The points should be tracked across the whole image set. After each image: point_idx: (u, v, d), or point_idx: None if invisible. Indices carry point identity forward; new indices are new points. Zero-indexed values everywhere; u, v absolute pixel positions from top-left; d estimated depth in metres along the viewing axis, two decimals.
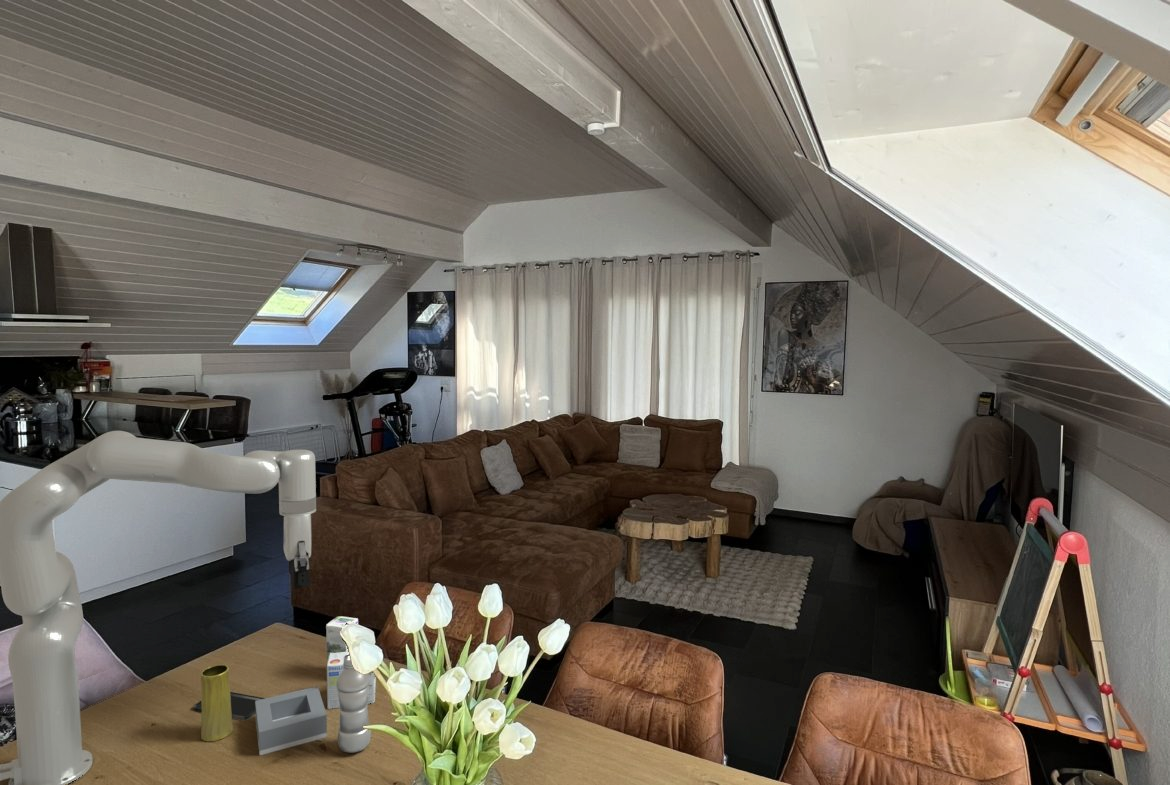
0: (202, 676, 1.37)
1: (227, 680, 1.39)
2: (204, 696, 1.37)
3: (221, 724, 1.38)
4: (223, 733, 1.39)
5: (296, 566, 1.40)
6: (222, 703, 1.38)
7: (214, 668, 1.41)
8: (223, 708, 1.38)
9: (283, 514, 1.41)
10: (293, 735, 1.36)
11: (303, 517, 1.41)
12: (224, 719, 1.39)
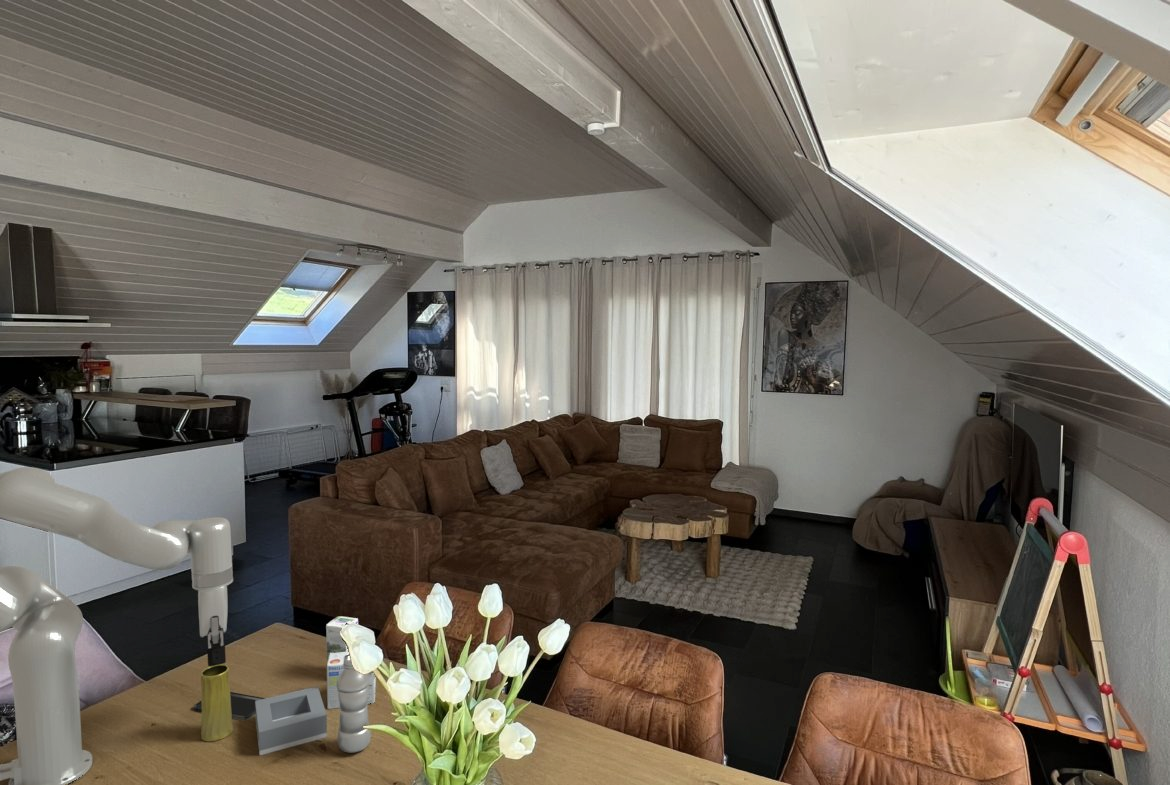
0: (202, 676, 1.37)
1: (227, 680, 1.39)
2: (204, 696, 1.37)
3: (221, 724, 1.38)
4: (223, 733, 1.39)
5: (209, 643, 1.33)
6: (222, 703, 1.38)
7: (214, 668, 1.41)
8: (223, 708, 1.38)
9: (195, 588, 1.34)
10: (293, 735, 1.36)
11: (216, 591, 1.34)
12: (224, 719, 1.39)
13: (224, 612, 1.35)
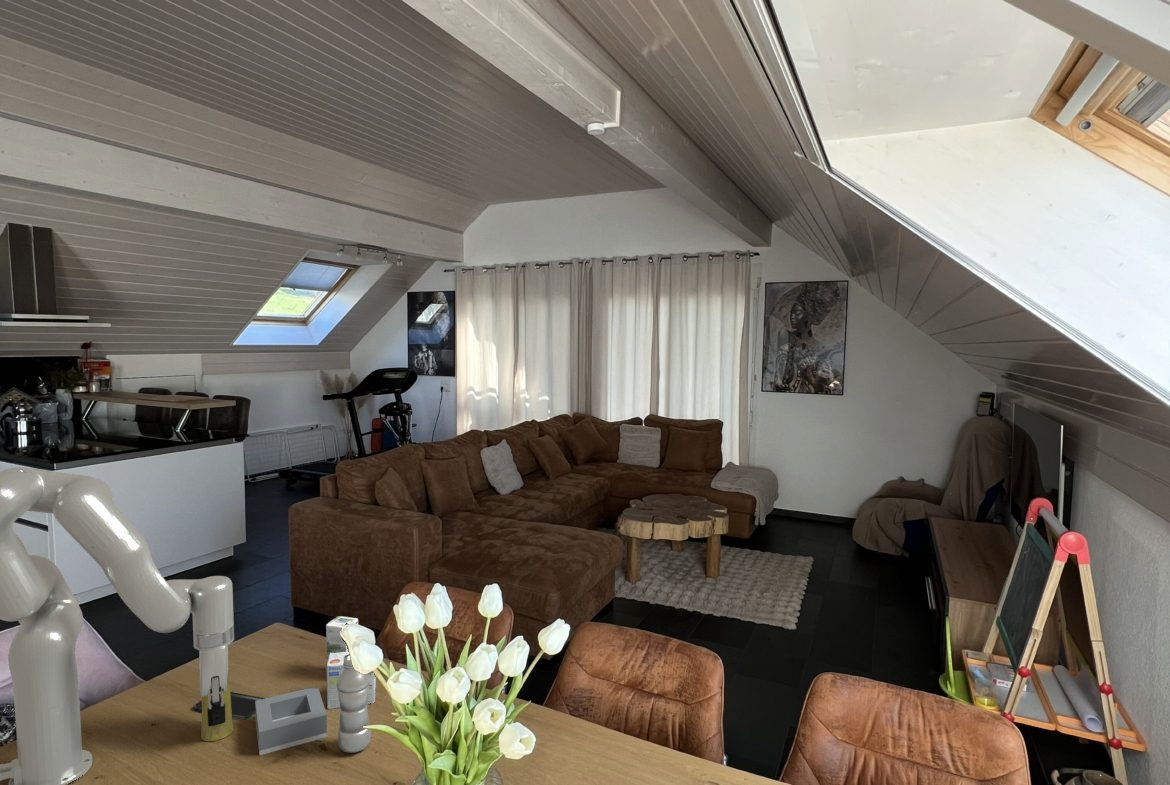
0: None
1: (227, 680, 1.39)
2: (204, 696, 1.37)
3: (221, 724, 1.38)
4: (223, 733, 1.39)
5: (210, 705, 1.35)
6: None
7: None
8: None
9: (197, 648, 1.35)
10: (293, 735, 1.36)
11: (217, 651, 1.35)
12: None
13: (225, 672, 1.36)
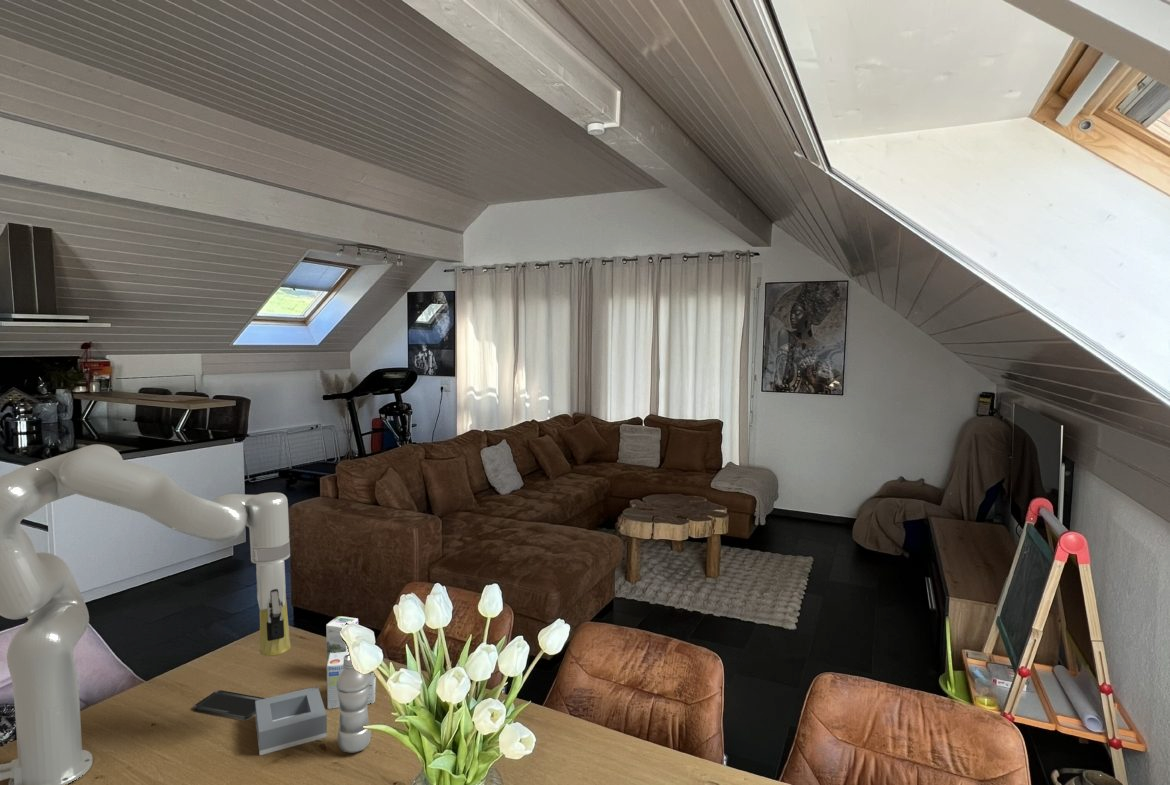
0: None
1: None
2: (263, 611, 1.37)
3: (280, 639, 1.38)
4: (282, 648, 1.39)
5: (269, 618, 1.35)
6: None
7: None
8: None
9: (255, 562, 1.35)
10: (293, 735, 1.36)
11: (276, 564, 1.35)
12: None
13: (283, 586, 1.36)
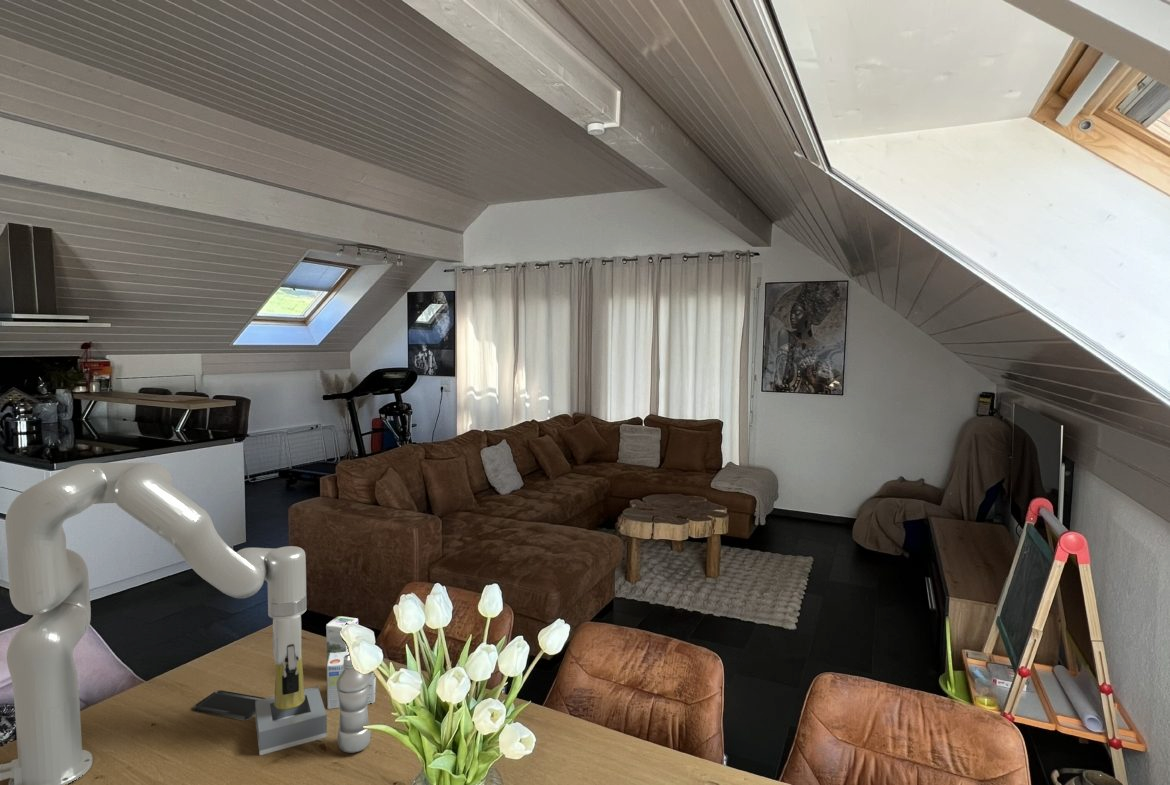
0: None
1: None
2: (279, 665, 1.38)
3: (295, 693, 1.39)
4: (296, 702, 1.40)
5: (285, 673, 1.36)
6: None
7: None
8: None
9: (272, 616, 1.36)
10: (293, 735, 1.36)
11: (293, 620, 1.36)
12: None
13: (299, 641, 1.37)
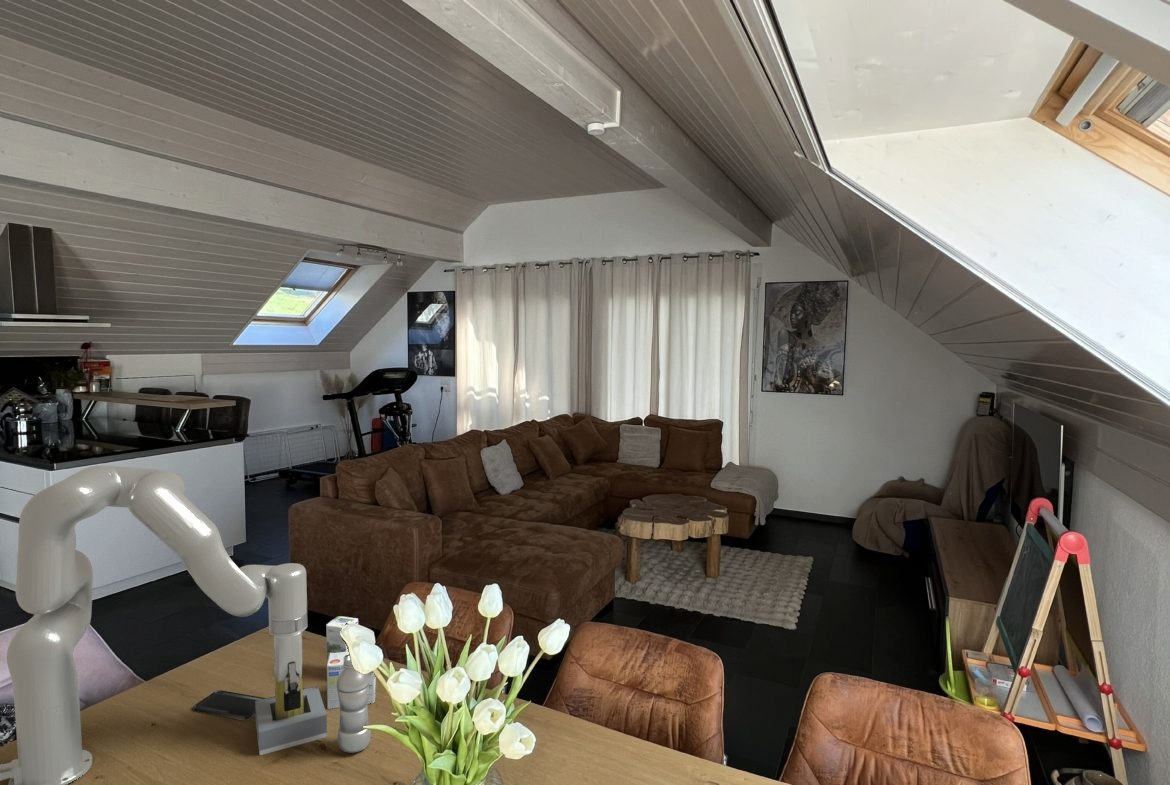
0: None
1: None
2: (278, 688, 1.39)
3: None
4: None
5: (286, 689, 1.35)
6: None
7: None
8: None
9: (273, 634, 1.37)
10: (293, 735, 1.36)
11: (293, 637, 1.37)
12: (297, 711, 1.40)
13: (300, 658, 1.37)
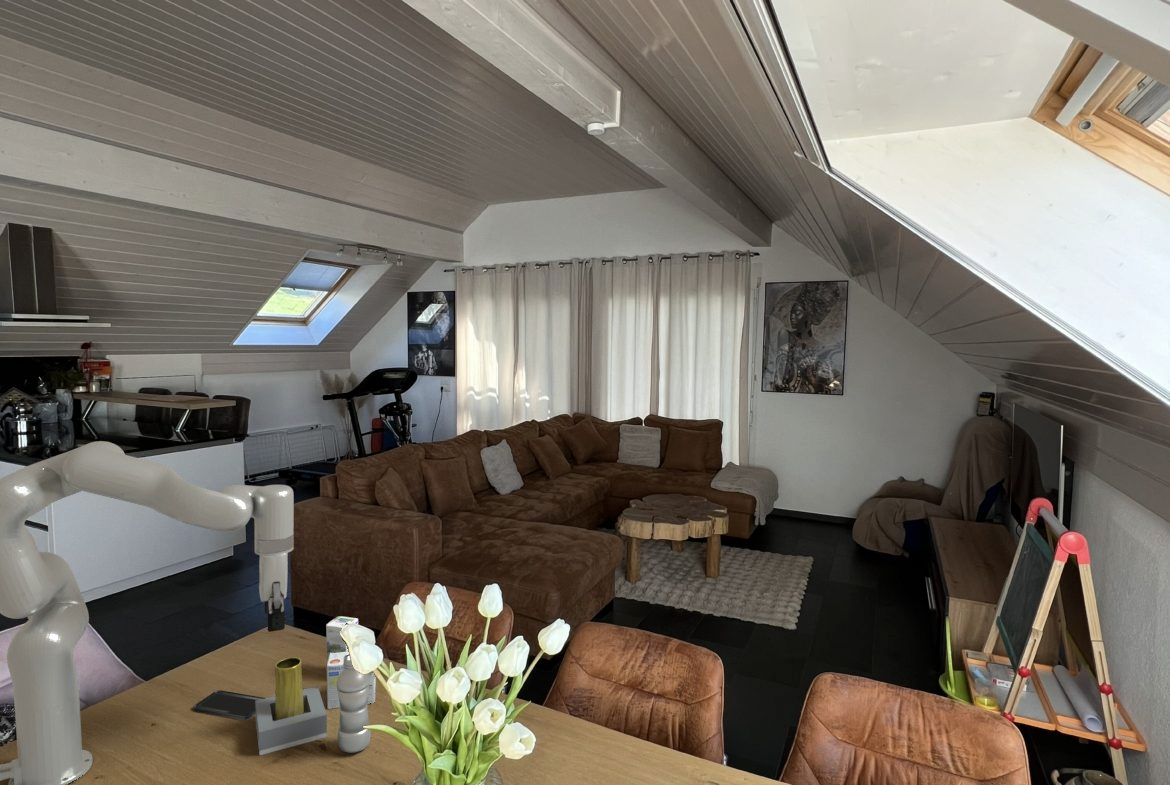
0: (277, 668, 1.39)
1: (300, 672, 1.41)
2: (279, 688, 1.39)
3: None
4: None
5: (270, 608, 1.34)
6: (296, 695, 1.40)
7: (286, 661, 1.43)
8: (297, 700, 1.40)
9: (258, 553, 1.35)
10: (293, 735, 1.36)
11: (279, 557, 1.35)
12: (297, 711, 1.40)
13: (285, 578, 1.36)
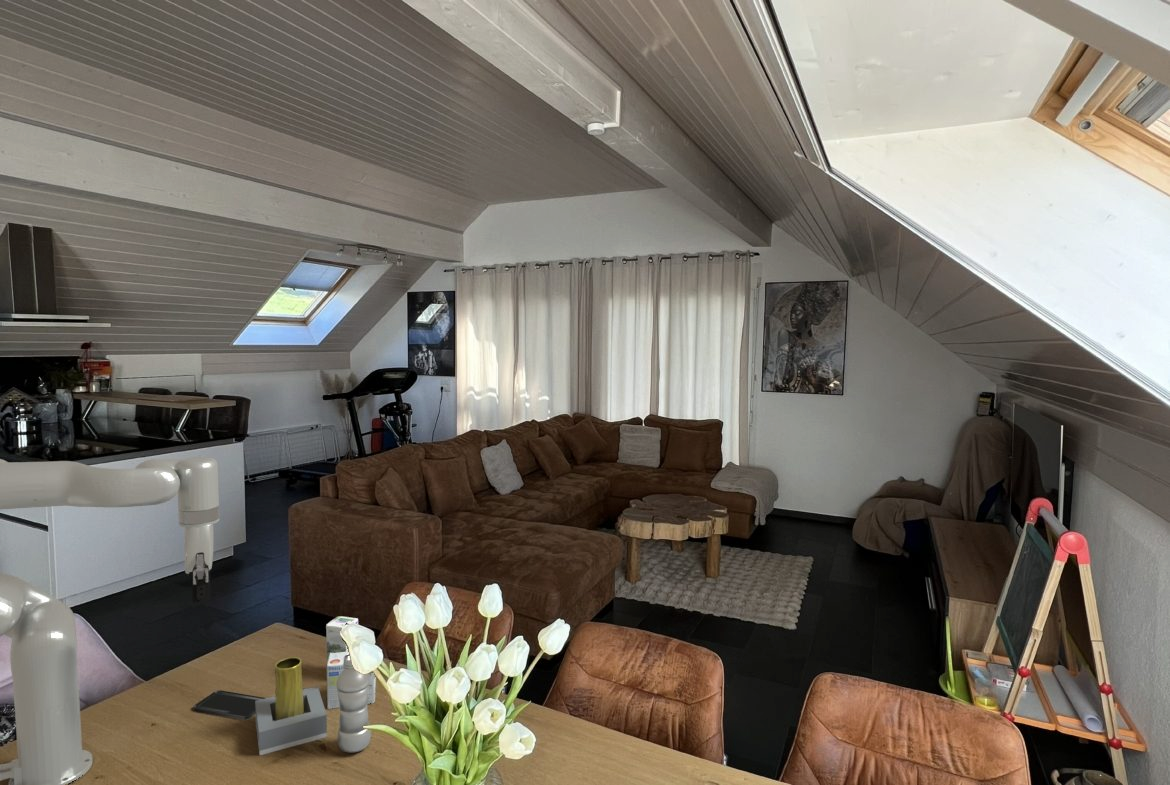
0: (277, 668, 1.39)
1: (300, 673, 1.41)
2: (279, 688, 1.39)
3: None
4: None
5: (194, 579, 1.34)
6: (296, 695, 1.40)
7: (286, 661, 1.43)
8: (297, 700, 1.40)
9: (181, 525, 1.35)
10: (293, 735, 1.36)
11: (202, 528, 1.35)
12: (297, 711, 1.40)
13: (210, 549, 1.36)
